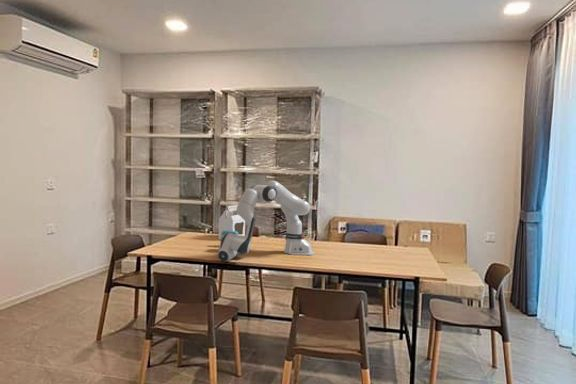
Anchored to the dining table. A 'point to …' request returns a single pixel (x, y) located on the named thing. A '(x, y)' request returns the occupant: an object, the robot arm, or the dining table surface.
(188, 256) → the dining table surface
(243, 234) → the gable box
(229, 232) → the data package
